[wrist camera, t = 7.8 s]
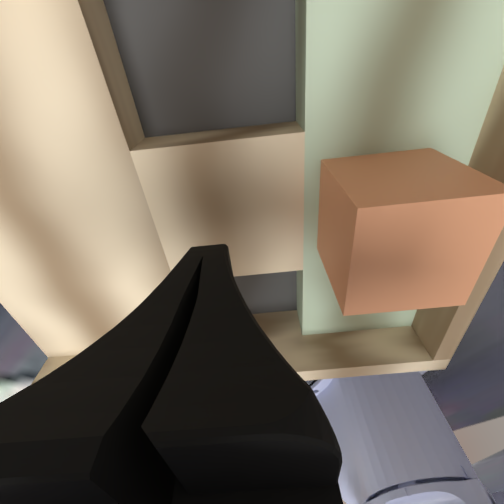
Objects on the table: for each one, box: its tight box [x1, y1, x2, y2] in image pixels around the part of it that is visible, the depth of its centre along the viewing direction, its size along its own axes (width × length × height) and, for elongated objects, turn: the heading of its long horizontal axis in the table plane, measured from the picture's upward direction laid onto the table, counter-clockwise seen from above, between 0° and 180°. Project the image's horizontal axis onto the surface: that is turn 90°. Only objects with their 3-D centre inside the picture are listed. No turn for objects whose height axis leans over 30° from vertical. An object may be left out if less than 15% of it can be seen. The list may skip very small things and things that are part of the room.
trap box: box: [0, 0, 504, 385], centre depth 13 cm, size 25×20×5 cm
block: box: [317, 148, 504, 316], centre depth 11 cm, size 4×4×4 cm
